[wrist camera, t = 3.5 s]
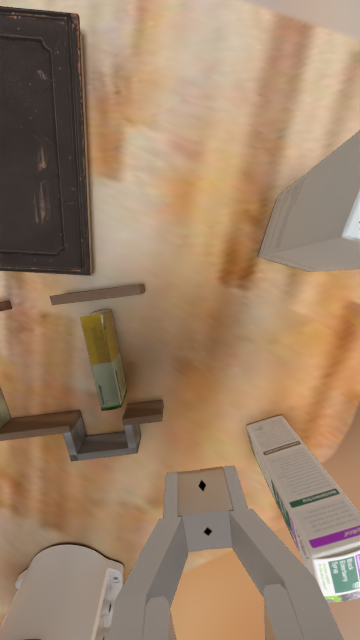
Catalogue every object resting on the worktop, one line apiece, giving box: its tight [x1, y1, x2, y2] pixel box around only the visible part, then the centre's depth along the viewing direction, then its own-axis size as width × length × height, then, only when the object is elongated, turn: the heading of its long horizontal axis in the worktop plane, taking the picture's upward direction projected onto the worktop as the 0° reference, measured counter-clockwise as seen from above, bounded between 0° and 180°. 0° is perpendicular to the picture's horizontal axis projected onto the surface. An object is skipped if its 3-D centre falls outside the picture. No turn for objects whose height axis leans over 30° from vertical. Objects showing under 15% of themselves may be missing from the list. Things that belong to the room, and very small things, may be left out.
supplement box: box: [258, 131, 360, 272], centre depth 17 cm, size 7×7×13 cm
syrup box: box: [246, 415, 360, 603], centre depth 23 cm, size 6×6×14 cm
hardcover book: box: [0, 6, 92, 275], centre depth 21 cm, size 16×23×2 cm
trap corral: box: [0, 284, 163, 461], centre depth 25 cm, size 22×23×3 cm
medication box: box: [80, 310, 127, 411], centre depth 25 cm, size 12×3×4 cm, turn 7°
